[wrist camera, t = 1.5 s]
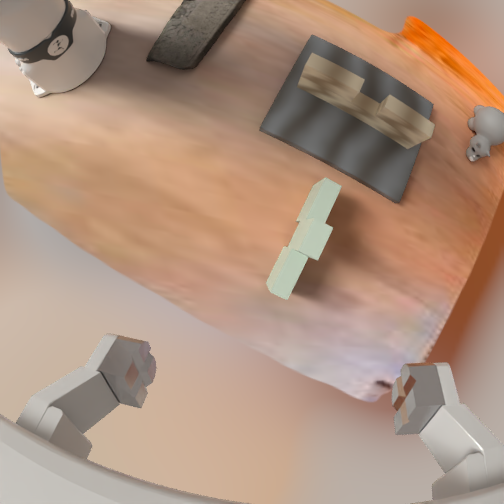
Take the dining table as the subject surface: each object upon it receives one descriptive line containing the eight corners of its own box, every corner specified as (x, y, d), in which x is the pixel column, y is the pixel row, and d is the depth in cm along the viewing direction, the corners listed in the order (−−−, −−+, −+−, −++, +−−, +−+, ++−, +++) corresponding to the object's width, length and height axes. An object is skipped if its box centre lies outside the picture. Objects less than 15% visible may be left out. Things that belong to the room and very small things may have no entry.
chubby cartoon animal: (446, 145, 50) (465, 149, 42) (475, 99, 45) (495, 97, 37) (471, 169, 50) (491, 176, 42) (498, 123, 45) (521, 125, 37)
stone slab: (138, 55, 43) (223, -51, 41) (143, 63, 46) (223, -42, 44) (191, 72, 44) (271, -39, 41) (194, 80, 47) (270, -29, 45)
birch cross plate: (259, 130, 46) (263, 109, 37) (310, 38, 45) (321, 9, 36) (395, 203, 47) (423, 198, 39) (429, 107, 47) (456, 89, 38)
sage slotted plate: (280, 289, 48) (293, 309, 35) (265, 282, 48) (273, 300, 35) (327, 192, 47) (354, 180, 35) (313, 185, 47) (336, 170, 35)
